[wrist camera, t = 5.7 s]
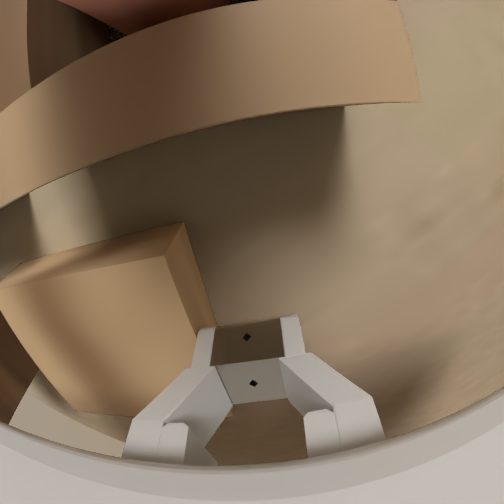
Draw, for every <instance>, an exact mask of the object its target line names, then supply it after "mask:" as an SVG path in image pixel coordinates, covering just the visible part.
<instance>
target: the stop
mask: <svg viewBox="0 0 504 504" xmlns="http://www.w3.org/2000/svg"><path fill="white" fill-rule="evenodd" d="M38 370H39V367H38V366H37V365H36V363H35V362H34V361H33V359H32V358H31V357H30V355H29V354H28V352H27V351H26V350H25V348H24V347H23V345H22V344H21V342H20V341H19V339H18V338H17V336H16V335H15V333H14V332H13V330H12V329H11V327H10V325H9V324H8V322H7V321H6V319H5V317H4V315H3V314H2V312H1V310H0V421H1V422H3V423H6V424H9V422H10V420H11V418H12V416H13V414H14V412H15V410H16V409H17V407H18V405H19V403H20V401H21V399H22V397H23V396H24V394H25V392H26V390H27V389H28V387H29V385H30V383H31V382H32V380H33V378H34V376H35V375H36V373H37V371H38Z"/></svg>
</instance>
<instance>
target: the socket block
mask: <svg viewBox="0 0 504 504" xmlns="http://www.w3.org/2000/svg"><path fill="white" fill-rule="evenodd" d="M398 102H421V97H420V91H419V85H418V79H417V74H416V69H415V64H414V59H413V55H412V50H411V46H410V42H409V38H408V34H407V31H406V27H405V24H404V20H403V17H402V14H401V11H400V8H399V5H398V2H397V0H257V1H251V2H245V3H239V4H233V5H228V6H223V7H218V8H213V9H209V10H205V11H201V12H197V13H193V14H189V15H186V16H182V17H179V18H176V19H172V20H169V21H166V22H163V23H160V24H157V25H154V26H151V27H149V28H146V29H143V30H141V31H138V32H136V33H133V34H131V35H128V36H126V37H123V38H121V39H119V40H117V41H114V42H112V43H111V42H110V35H109V28H108V25H107V24H106V23H104V22H102V21H100V20H98V19H96V18H94V17H92V16H90V15H88V14H86V13H84V12H82V11H80V10H78V9H76V8H74V7H71V6H69V5H67V4H65V3H63V2H60V1H58V0H0V207H2V206H4V205H6V204H8V203H9V202H11V201H13V200H15V199H17V198H19V197H21V196H23V195H25V194H27V193H29V192H31V191H33V190H35V189H37V188H39V187H41V186H43V185H46V184H48V183H50V182H52V181H54V180H57V179H59V178H61V177H64V176H66V175H68V174H71V173H73V172H75V171H78V170H80V169H83V168H85V167H88V166H90V165H93V164H95V163H98V162H100V161H103V160H106V159H108V158H111V157H114V156H116V155H119V154H122V153H125V152H128V151H131V150H134V149H136V148H140V147H143V146H146V145H149V144H152V143H155V142H158V141H162V140H165V139H168V138H172V137H175V136H179V135H183V134H186V133H190V132H194V131H198V130H202V129H206V128H210V127H214V126H218V125H223V124H227V123H232V122H237V121H242V120H247V119H252V118H257V117H263V116H269V115H275V114H281V113H288V112H295V111H302V110H310V109H319V108H329V107H340V106H351V105H363V104H377V103H398Z"/></svg>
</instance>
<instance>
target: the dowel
mask: <svg viewBox="0 0 504 504" xmlns="http://www.w3.org/2000/svg"><path fill="white" fill-rule="evenodd" d="M58 1H60V2H63V3H65V4H67V5H69V6H71V7H74V8H76V9H78V10H80V11H82V12H84V13H86V14H88V15H90V16H92V17H94V18H96V19H98V20H100V21H102V22H104V23H106V24H107V25H109V26H111V27H113V28H115V29H117V30H118V31H120V32H122V33H124V34H125V35H127V36H128V35H131V34H133V33H136V32H138V31H141V30H143V29H146V28H149V27H151V26H154V25H157V24H160V23H163V22H166V21H169V20H172V19H176V18H179V17H182V16H186V15H189V14H193V13H197V12H201V11H205V10H209V9H213V8H218V7H223V6H228V5H230V0H58Z"/></svg>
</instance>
